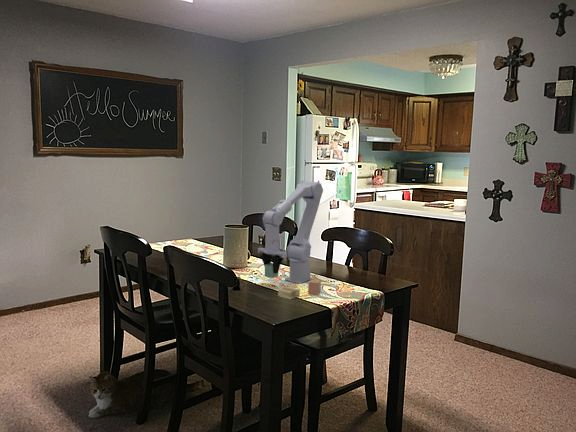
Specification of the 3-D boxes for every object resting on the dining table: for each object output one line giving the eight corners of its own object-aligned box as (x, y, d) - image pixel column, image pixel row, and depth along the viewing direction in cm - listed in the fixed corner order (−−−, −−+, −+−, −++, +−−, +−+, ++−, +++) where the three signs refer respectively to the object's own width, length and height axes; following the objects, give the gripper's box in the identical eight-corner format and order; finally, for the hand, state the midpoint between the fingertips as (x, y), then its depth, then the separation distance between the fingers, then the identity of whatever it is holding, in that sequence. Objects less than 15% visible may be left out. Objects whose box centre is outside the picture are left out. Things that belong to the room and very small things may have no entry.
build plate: (228, 284, 218) (228, 273, 218) (245, 284, 219) (246, 274, 218) (227, 292, 206) (227, 281, 205) (245, 292, 206) (245, 281, 206)
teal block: (271, 274, 215) (271, 262, 214) (278, 276, 213) (278, 264, 212) (264, 276, 212) (264, 264, 211) (271, 278, 210) (271, 266, 209)
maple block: (288, 293, 206) (288, 286, 206) (299, 296, 202) (299, 289, 202) (278, 296, 202) (278, 289, 201) (289, 300, 198) (289, 292, 197)
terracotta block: (311, 291, 209) (311, 279, 208) (320, 292, 207) (320, 280, 207) (308, 294, 205) (308, 282, 204) (317, 295, 204) (317, 283, 203)
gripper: (252, 238, 212) (252, 270, 214) (279, 243, 203) (278, 277, 205) (264, 236, 217) (264, 267, 219) (290, 241, 208) (289, 273, 210)
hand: (271, 272), depth 212 cm, fingers closed on teal block, 4 cm apart
